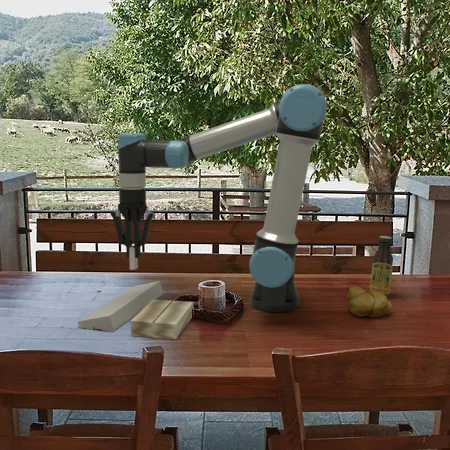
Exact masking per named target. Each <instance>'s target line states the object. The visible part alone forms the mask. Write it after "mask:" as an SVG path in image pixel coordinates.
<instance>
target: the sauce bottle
mask: <svg viewBox="0 0 450 450" xmlns="http://www.w3.org/2000/svg"><path fill="white" fill-rule="evenodd" d="M392 242H393V237H392V236H388V235H380V236H378V248H377V251H376V252H375V254H374V255H373V261H372V267H371V268H372V269H371V276H370V285H369V291H371V290H375V291H379V292H381V293H383V294H384V295H385V296H386V297H387V299H388V298H389V297H390V293H391V285H392V276H393V275H392V274H393V269H394V268H393V265H394V263H393V262H394V257H393V254H392V252H391V250H392V249H391V247H392Z"/></svg>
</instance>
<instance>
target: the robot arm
mask: <svg viewBox="0 0 450 450" xmlns="http://www.w3.org/2000/svg"><path fill="white" fill-rule="evenodd" d="M327 110H328V104H327V98H326V96H325V95H324V93H323V91H321V90H320V88H318V87H316V86H314V85H311V84H307V83H301V84H296V85H293V86H292V87H290V88H288V89H287V90H286V91H285V92H284V94H282V97H281V98H280V100H279V101H276V102H275V101H274V102H272V103H271V105H270V107H269V108H267V109H263V110H261V111H257V112H255V113H252V114H248V115H246V116H243V117H241V118H238V119H237V118H236V119H234V120H232V121H229V122H226V123H222V124H220V125H217V126H215V127H214V126H213V127H211V128H208V129H206V130H203V131H200V132H197V133H193V134H191V135H188V136H183V137H182V138H178V139H175V140H174V139H173V140H149V139H147V138H146V134H145V133H142V132H139V133H138V132H122V133H121V132H120V134H119V135H118V141H117V142H118V144H117V152H118V153H117V155H118V187H120V188H119V190H118V193H119V194H118V197H119V199H118V200H119V203H118V204H119V205H118V207H117V208H116V209H115V210H113V211H111V212H110V216H111V218H112V219H113V220H114V221H113V222H114V225H115V229H116V234H117V237H118V238H117V239H118V242H119V244H120V245H121V246H122V245H123V246H125V249H126V251H125V252H126V258H127V259H128V258H129V270H130V271H131V270H132V271H133V270H134V271H135V270H137V269H138V268H139V264H138V263H139V261H138V259H139V258H141V253H142V252H141V250H142V249H141V248H142V247H143V246H145V245H146V244H147V243H148V239H149V235H150V231H151V226H152V222H153V220H154V218H155V217H156V213H155V211H153V212H152V211H151V210H149V208H148V206H147V190H146V188H145V187H146V186H147V181H146V180H147V178H146V176H147V175H146V174H147V172H146V168H159V169H162V168H163V169H164V168H165V169H173V170H175V169H185V168H186V167H187V165H188V164H189V163H192V162H194V161H197V160H200V159H203V158H207V157H210V156H213V155H216V154H219V153H221V152H225V151H227V150H231V149H234V148H237V147H240V146H243V145H245V144H249V143H252V142H255V141H258V140H261V139H264V138H265V139H266V138H268V137H271V136H273V135H276V136H277V138H278V140H279V145H278V149H277V154H276V159H275V160H276V161H275V166H274V171H273V174H272V175H273V177H272V181H271V187H270V191H269V197H268V202H267V207H266V213H265V217H264V223H263V227H262V228H261V229H260V230H258V231H257V232H256V236H255V240H254V246H253V250H252V255H251V257H250V259H249V262H248V263H249V264H248V265H249V266H248V267H249V271H250V275H251V276H252V278H253V280H255V282H254V284H253V287H252V290H251V293H250V295H249V304H250V306H251V307H252V308H254V309H257V310H260V311H264V312H271V313H273V312H274V313H281V312H282V313H283V312H285V313H286V312H290V311H294V310H297V309H298V308H299V307H300V296H299V292H298V290H297V289H298V288H297V286H296V282H295V269H296V267H295V266H296V264H295V263H296V256H297V251H298V245H299V239H298V237H297V236H296V233H295V232H296V227H297V223H298V218H299V212H300V209H301V208H300V207H301V203H302V199H303V198H302V197H303V193H304V188H305V184H306V178H307V174H308V170H309V164H310V161H311V160H310V159H311V154H312V150H313V147H314V146H315V145H317V144H318V143H319V142H320V138H321V135H322V130H323V125H324V121H325V120H324V119H325V117H326V115H327ZM121 216H122V217H123V219H124V224H125V226H124V225H123V219H122V217H121ZM144 216H145V220H144V225H143V230H142V219H143V217H144Z"/></svg>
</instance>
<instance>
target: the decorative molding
mask: <svg viewBox="0 0 450 450" xmlns="http://www.w3.org/2000/svg"><path fill="white" fill-rule="evenodd" d="M163 295H164V291H163V286H162V283H161V281H160V280H159V281H153V282H148V283H143V284H138V285H134V286H131V287H130V288H128V289H127V290H125V291H123V292H122V293H120V294H119V295H117V296H115V297H114V298H112V299H111V300H109V301H108V302H106V303H104V304H103V305H102V306H100V307H98V308H97V309H95V310H93V311H92V312H90V313H88V314H87V315H85V316H84V317H82V318H81V319H79V320H78V321H77V324H78V326H79V328H80V329H86V330H95V331H96V330H102V331H104V332H108V333H109V332H110V333H114V332H116V331H117V330H118V329H119V328H122V327H123V325H125V324H126V323H127V322H129V321H131V320H132V319H133V318H134V317H135V316H136V315H138V314H139V313H140V312H141V311H142V310H143V309H144V308H145V307H146V306H147V305H148V304H149V303H150V302H151V301H152V300H153V299H156V300H159V298H160V297H161V296H163Z"/></svg>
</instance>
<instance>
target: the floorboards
mask: <svg viewBox="0 0 450 450" xmlns="http://www.w3.org/2000/svg"><path fill="white" fill-rule="evenodd" d="M192 309H193V310H194V301H182V300H181V301H180V300H175V299H172V300H167V299H165V300H164V299H153V300H152V301H151V302H150V303H149V304H148V305H147V306H146V307H145V308H144V309H143V310H142V311H141V312H139V313H138V314H136V315H135V316H134V317H133V318H131V319H130V336H132V337H142V338H143V337H145V338H154V339H155V338H156V339H167V340H177V339H178V337H179V336H180V335H181V334H182V332H183V331H184V329H185V328H186V326H187V325H188V324H189V322H190V321H191V319H192V318H193V317H192Z"/></svg>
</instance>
